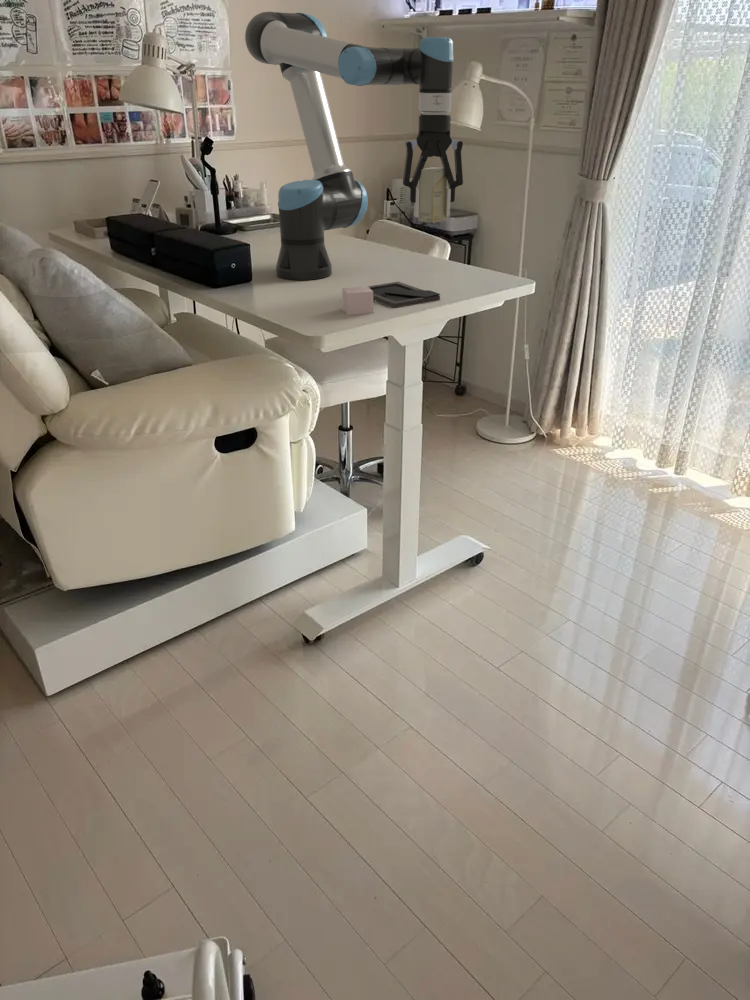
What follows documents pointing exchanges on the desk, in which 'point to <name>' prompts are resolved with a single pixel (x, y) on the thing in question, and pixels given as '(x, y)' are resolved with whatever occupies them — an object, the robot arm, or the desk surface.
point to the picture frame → (401, 294)
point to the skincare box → (432, 195)
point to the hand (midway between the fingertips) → (431, 216)
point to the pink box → (357, 300)
